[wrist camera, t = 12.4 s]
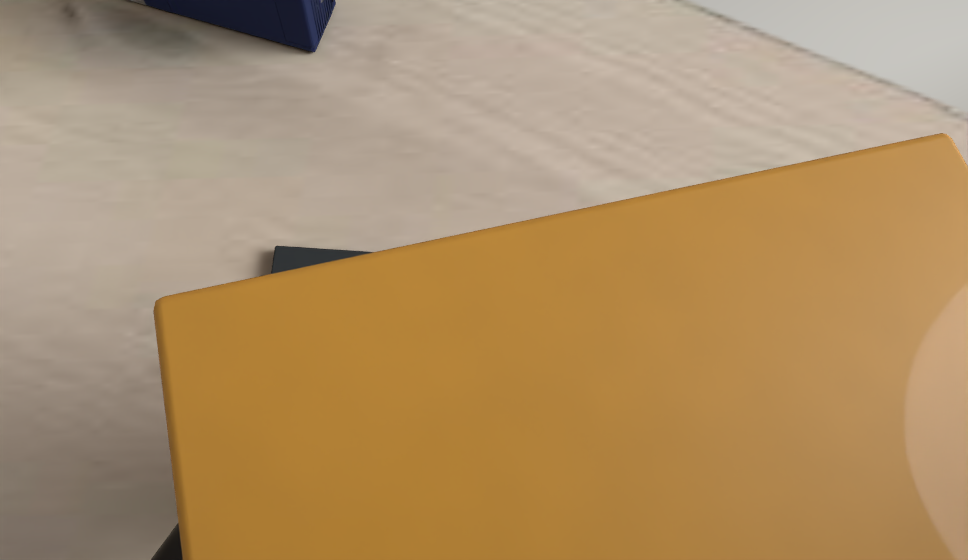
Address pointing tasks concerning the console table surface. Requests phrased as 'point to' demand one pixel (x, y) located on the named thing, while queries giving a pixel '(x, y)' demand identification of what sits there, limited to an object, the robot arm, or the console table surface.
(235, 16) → the cassette player
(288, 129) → the console table surface
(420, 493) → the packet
